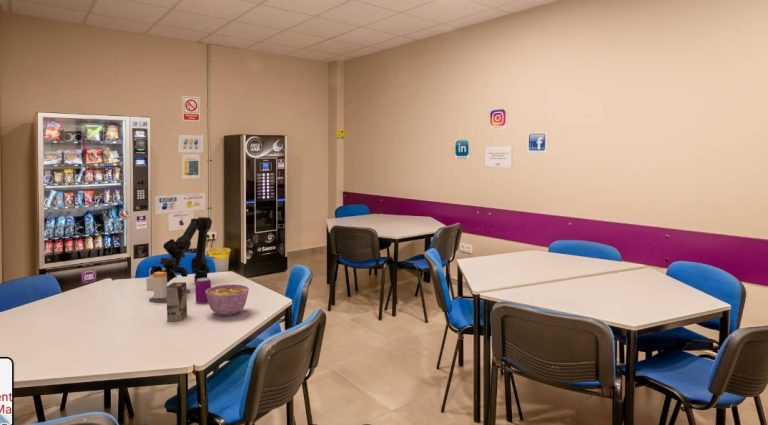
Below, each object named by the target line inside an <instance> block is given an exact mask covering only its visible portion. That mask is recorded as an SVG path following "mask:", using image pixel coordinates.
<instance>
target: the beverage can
mask: <svg viewBox="0 0 768 425" xmlns="http://www.w3.org/2000/svg"><path fill="white" fill-rule="evenodd" d="M194 283H195V282H194ZM211 287H212V282H211V280H210V278H209V277H207V278H199V279H197V281H196V283H195V286H194V288H195V302H196V304H197V303H198V304H209V302H208V299H207V295H206V292H205V291H206V290H207V289H209V288H211Z"/></svg>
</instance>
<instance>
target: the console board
mask: <svg viewBox="0 0 768 425" xmlns="http://www.w3.org/2000/svg"><path fill="white" fill-rule="evenodd" d="M186 291H187V294H189V293H190V292H191V289H189V288H186ZM148 299H149V300H148V302H149V303H160V304H167V297H165V298H163V299H162V298H154V296H153V297H151V298H148Z"/></svg>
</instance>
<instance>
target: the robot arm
mask: <svg viewBox="0 0 768 425" xmlns="http://www.w3.org/2000/svg"><path fill="white" fill-rule="evenodd" d="M212 224H213V221H212V219H211V218H210V217H207V216H205V217H204V216H199V217H198V218H195V217H194V218H191V219H190V222H189V224H188V226H187V228H186V229H185V231H184V232H183V234H182V235H181V236H178V238H177V239H176V240H175V239H172V238H171V239H169V240H167V241H166V242H164V243H163V246H162V247H163V249H164V250H165V251H166V253H167V254H168V255H170V257H168V258H167V257H160V261H159V264H160V265H152V266H151V268H150V269H151V270H152V271H153V272H154V273H155V272H167V284H168V283H169V282H170V281H172V280H173V279H175V278H177V277H178V275H177V274H180V276H181V278H182V277H183V278H186V277H187V276H188V275H189V272H188V270H187V269H186V268H185V267H184V266H181V261H182V259H183V258H186V254H185V252H183V251H186V252H187V251H188V250H190V247H191V245H192V242H191V240H192V238H193V237H194V235H195V234H196V232H197V231H198V233H197V243H196V252H195V255H194V257H193V258H191V264H190V267H191V271H192V274H194V276H193V277H194V281H193V282H194V283H196V281H197V279H199V278H208V274H209V273H210V271H211V268H210V267H209V265H208V260H207V258H206V248H207V247H206V246H207V239H208V237H207V236H208V232H209V231H210V230H211V227H212ZM161 265H162V267H161Z"/></svg>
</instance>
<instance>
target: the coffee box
mask: <svg viewBox="0 0 768 425" xmlns="http://www.w3.org/2000/svg"><path fill="white" fill-rule="evenodd" d="M186 289H187V282H184V281H183V282H182V281H181V282H179V281H178V282H172V283H170V284H169V285H167V287H166V296H167V303H166V317H167V318H166V321H167V322H181V321H183V319H184V318H185V317H187V316H188V302H187V301H188V297H187V296H188V293H187V291H186Z"/></svg>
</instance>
